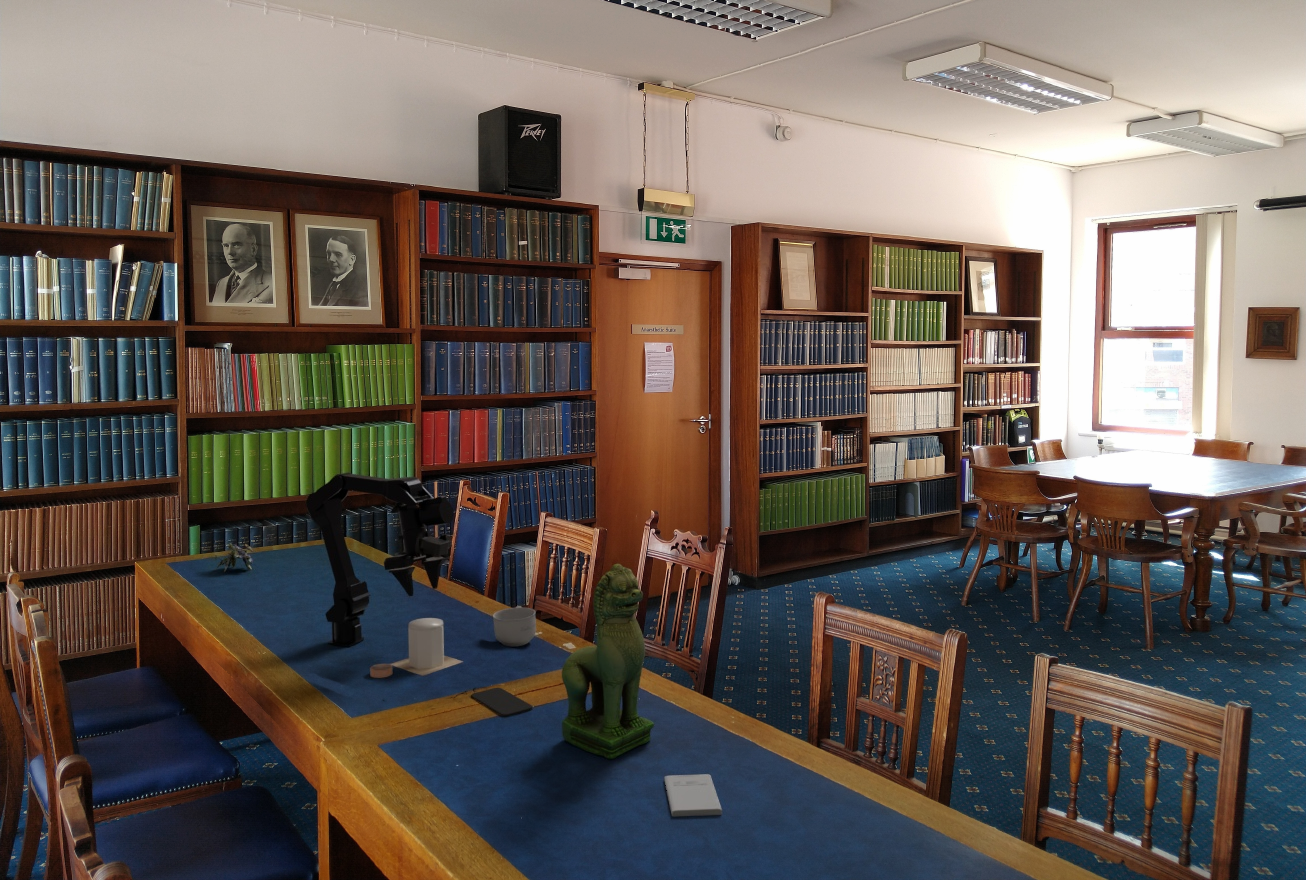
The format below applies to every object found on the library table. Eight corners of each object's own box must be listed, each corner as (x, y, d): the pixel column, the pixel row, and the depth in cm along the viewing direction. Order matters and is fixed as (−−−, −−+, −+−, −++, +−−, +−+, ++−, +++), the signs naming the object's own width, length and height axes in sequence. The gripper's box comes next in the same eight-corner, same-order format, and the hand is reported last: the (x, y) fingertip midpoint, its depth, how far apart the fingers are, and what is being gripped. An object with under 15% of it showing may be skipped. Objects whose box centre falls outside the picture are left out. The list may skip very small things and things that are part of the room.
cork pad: (389, 670, 215) (389, 664, 215) (430, 656, 225) (430, 650, 225) (422, 682, 208) (422, 675, 208) (463, 667, 218) (463, 661, 217)
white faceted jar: (424, 670, 211) (423, 629, 210) (402, 663, 216) (401, 623, 215) (450, 661, 217) (450, 622, 216) (429, 655, 222) (428, 615, 221)
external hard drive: (671, 820, 150) (664, 783, 162) (722, 817, 150) (710, 781, 163) (671, 810, 150) (664, 774, 162) (722, 808, 150) (710, 773, 163)
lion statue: (614, 764, 168) (615, 575, 164) (550, 739, 178) (550, 561, 175) (661, 740, 178) (663, 562, 175) (598, 718, 189) (599, 549, 185)
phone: (499, 686, 205) (535, 706, 193) (499, 690, 205) (535, 710, 193) (469, 694, 200) (503, 715, 189) (469, 697, 200) (503, 719, 189)
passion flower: (249, 585, 310) (261, 560, 306) (215, 585, 303) (227, 558, 298) (241, 561, 317) (253, 536, 312) (208, 560, 309) (220, 534, 305)
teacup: (527, 651, 230) (527, 619, 229) (486, 648, 232) (486, 616, 231) (545, 634, 243) (545, 604, 243) (506, 631, 246) (506, 602, 245)
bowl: (366, 682, 208) (365, 669, 207) (378, 675, 212) (378, 662, 212) (384, 685, 206) (384, 671, 206) (396, 677, 210) (396, 664, 210)
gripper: (415, 530, 213) (425, 597, 213) (463, 520, 230) (473, 582, 230) (377, 535, 218) (387, 601, 218) (427, 525, 235) (436, 586, 235)
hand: (423, 592), depth 225 cm, fingers open, 9 cm apart
